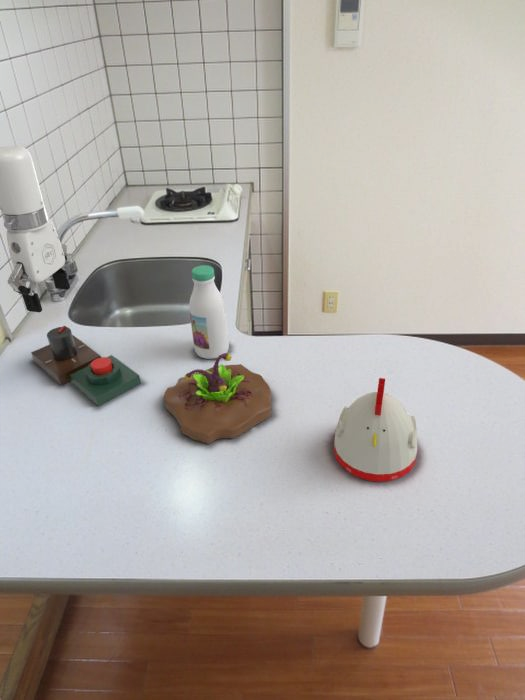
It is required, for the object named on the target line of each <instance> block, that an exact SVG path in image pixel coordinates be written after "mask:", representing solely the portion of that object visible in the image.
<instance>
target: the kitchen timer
mask: <svg viewBox="0 0 525 700" xmlns="http://www.w3.org/2000/svg"><path fill="white" fill-rule="evenodd" d="M377 384H378V385H377V391H374V392H368V393H365V394H364V395H361V396H360V397H358V398H357V399H356V400H354V401H353V402H352V403H351V404H350V405H349V406H348V407H347V406H346V405H345V406H344V407H343V408H342V411H341V413H340V415H339V417H338V421H337V425H336V428H335V434H334V441H333V442H334V443H333V453H334V456H335V459H336V462H338V464H339V465H340V466H341V467H342V469H344V470H345V471H347V472H348V473H349V474H351V475H352V476H354V477H357V478H360V479H362V480H366V481H371V482H375V483H376V482H379V483H380V482H390V481H394V480H398V479H400V478H402V477H404V476H406V475H408V473H410V472H411V470H412V469H413V468H414V467H415V464H416V460H417V455H418V443H419V442H418V441H419V439H418V428H417V422H416V421H417V420H416V416H414V415H412V416H411V415H410V414H409V412H408V411H407V409H406V407H405V406H404V405H403V404H402V402H400V401H399V400H398V399H397V398H396V397H394V396H393V395H391V394H389V393H386V392H385V385H386V378H385V377H379V378H378V383H377Z"/></svg>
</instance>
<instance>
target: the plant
mask: <svg viewBox="0 0 525 700" xmlns="http://www.w3.org/2000/svg"><path fill="white" fill-rule="evenodd" d="M221 359H223V360H224V361H226V362H228V361H231V360H232V355H231V354H230V353H228V352H227V353H224V354H221V355H219V357H218V358H215V362H214V364H213V366H212V367H210V368H207V369H202V368H201V369H200V368H199V369H198V368H197V369H193V370H191V371H190V372H187V373H186V374H185V375H184V376H182V377H181V376H180V378H178V379H177V383H176V384H175V385H173V386H170V387H167V388H166V390H165V391H164V393H163V400H164V401H163V403H164V405H165V409H166V410H167V412H168V413H169V414H171V415H172V416H173V417H174V418H175V419H176V421H177V423H178V424H179V426H180V430H181V434H182V435H184V436H187V437H189V438H190V439H191V440H194V441H197V442H201V443H203V444H204V443H205V444H207V445H210V444H212V443H213V442H215V441H217V440H221V439H235V438H237V437H239V436H241V435H242V434H244V433H246V432H247V431H249V430H251V429H252V428H254V427H255V426H257V425H258V424H260V423H263V422H265V420H268V419H269V418H270V417H272V405H271V403H272V390H271V388H270V386H269V384H268V383H267V382H266V381H265V379H264V378H263V376H262V375H261V374H260V373H257V372H253V371H252V370H250V369H248V368H247V367H246V366H244V365H243V364H241V363H240V364H225V365H224V364H220V360H221ZM219 364H220V365H219Z"/></svg>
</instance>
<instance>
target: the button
mask: <svg viewBox="0 0 525 700" xmlns="http://www.w3.org/2000/svg"><path fill="white" fill-rule="evenodd" d="M106 357H107V356H106ZM106 357H105V356H103V357H102V356H101V358H97V359H95V360H94V361H93V362H92V363H91V367H92V371H93V373H94V374H95V375H102V374H106V373H108V372H110V371H111V370H112V369H113V367H112V363H111V360H110V359H109V358H106Z"/></svg>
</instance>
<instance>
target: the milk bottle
mask: <svg viewBox="0 0 525 700" xmlns="http://www.w3.org/2000/svg"><path fill="white" fill-rule="evenodd" d="M214 269H215V268H214V267H213V266H211V265H207V264H206V265H205V264H202V265H197V266H195V267H193V268H192V269H191V278H192V279H191V280H192V282H193V288H192V291H191V295H190V297H189V303H188V304H189V305H188V308H189V317H190V325H191V326H190V327H191V333H192V340H193V348H194V352H195V354H196V355H197V356H198V357H200V358H202V359H208V360H212V359H217V358H218V357H219V355H221V354H224V353H228V351H229V349H230V343H229V342H230V341H229V331H228V322H227V321H228V320H227V313H226V305H225V301H224V298H223V296H222V293H221V292H220V290H219V289H218V287H217V286H216V283H215V279H216V278H215V277H216V276H215V270H214Z"/></svg>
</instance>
